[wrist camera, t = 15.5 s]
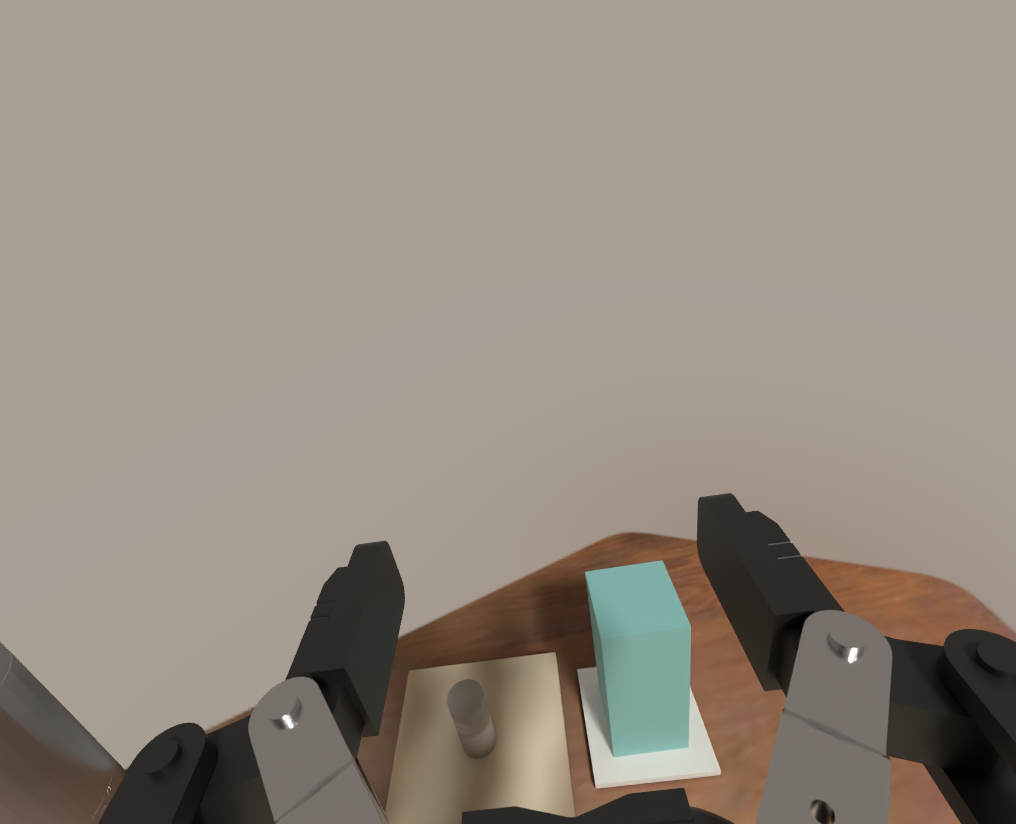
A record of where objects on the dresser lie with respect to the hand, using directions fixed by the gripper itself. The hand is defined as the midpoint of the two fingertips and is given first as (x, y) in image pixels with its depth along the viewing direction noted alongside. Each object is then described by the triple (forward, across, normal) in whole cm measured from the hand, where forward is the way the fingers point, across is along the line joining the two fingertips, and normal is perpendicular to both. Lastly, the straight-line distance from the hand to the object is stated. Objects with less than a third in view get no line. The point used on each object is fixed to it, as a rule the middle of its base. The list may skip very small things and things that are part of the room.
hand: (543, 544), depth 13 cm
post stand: (+10, +7, +28) cm, 31 cm away
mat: (+11, -4, +28) cm, 30 cm away
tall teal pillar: (+11, -4, +28) cm, 30 cm away
